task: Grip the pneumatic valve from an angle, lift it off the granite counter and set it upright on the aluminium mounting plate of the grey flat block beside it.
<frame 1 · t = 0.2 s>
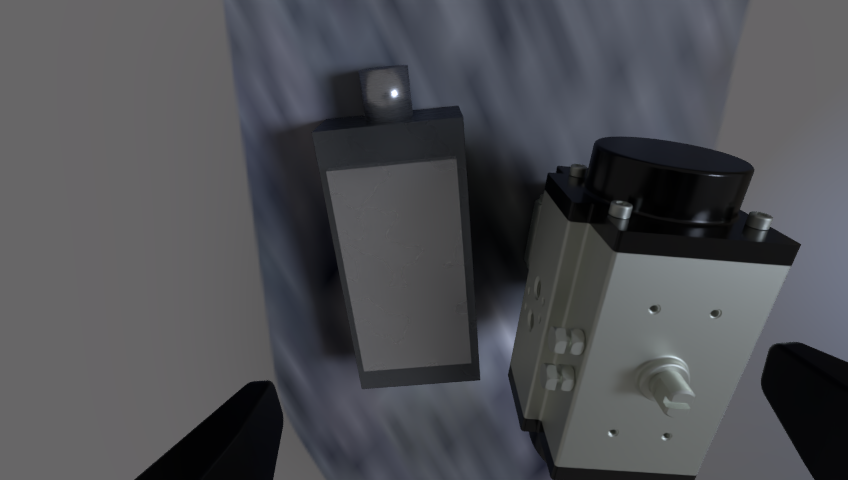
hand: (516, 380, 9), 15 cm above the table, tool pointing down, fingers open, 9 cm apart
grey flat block: (408, 243, 24), on the table
pneumatic valve: (552, 228, 24), on the table
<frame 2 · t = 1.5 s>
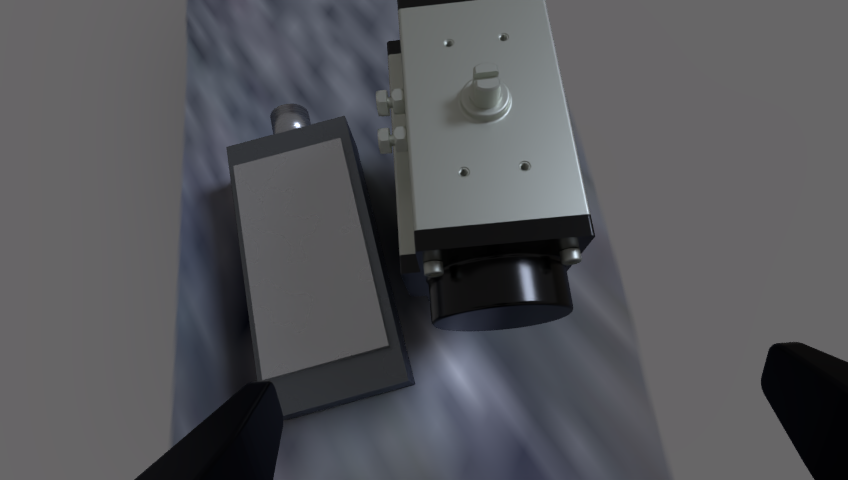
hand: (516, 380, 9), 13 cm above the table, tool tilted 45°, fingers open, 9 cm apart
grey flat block: (326, 270, 24), on the table
pneumatic valve: (464, 234, 24), on the table
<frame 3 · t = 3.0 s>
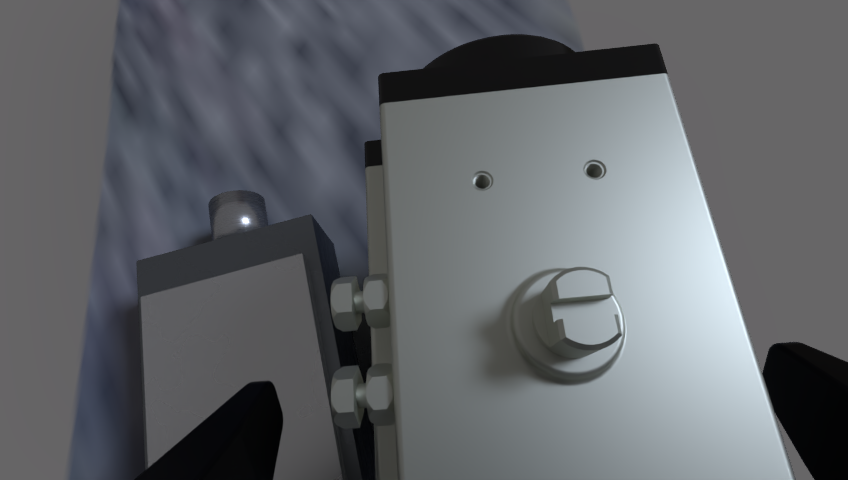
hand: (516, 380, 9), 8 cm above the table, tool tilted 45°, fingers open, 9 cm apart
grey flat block: (284, 436, 16), on the table
pneumatic valve: (486, 380, 17), on the table
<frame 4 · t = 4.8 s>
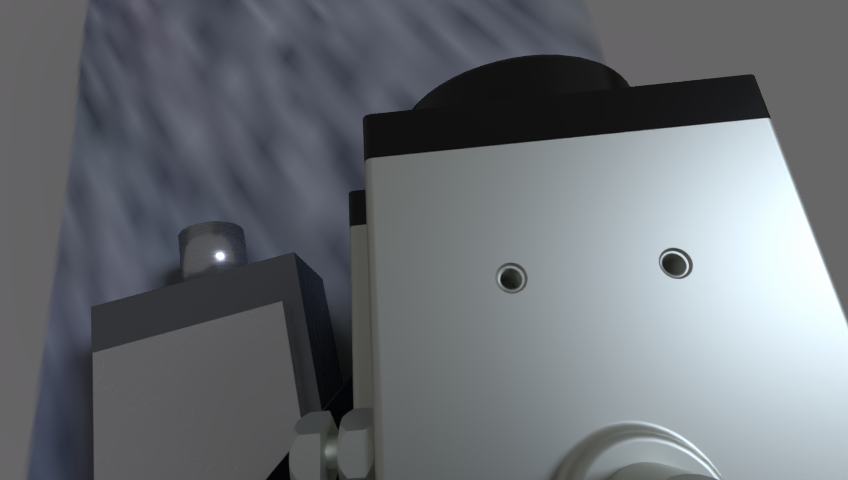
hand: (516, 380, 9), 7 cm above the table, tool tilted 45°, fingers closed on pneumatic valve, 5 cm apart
pneumatic valve: (496, 439, 14), on the table, touching gripper
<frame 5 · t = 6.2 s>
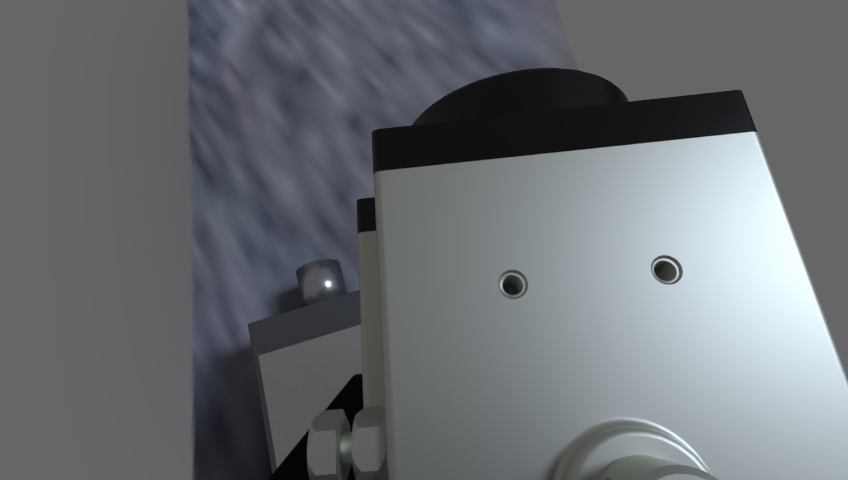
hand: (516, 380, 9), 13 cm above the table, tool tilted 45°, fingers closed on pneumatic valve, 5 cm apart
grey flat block: (369, 460, 20), on the table
pneumatic valve: (498, 436, 15), point 6 cm above the table, touching gripper
when the fingers open (11 cm above the table, at t = 7.8 s): pneumatic valve stays where it is, resting on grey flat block.
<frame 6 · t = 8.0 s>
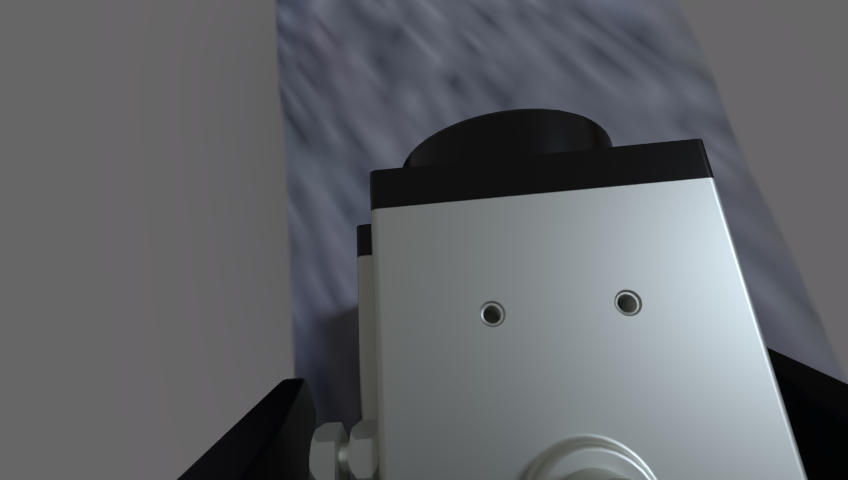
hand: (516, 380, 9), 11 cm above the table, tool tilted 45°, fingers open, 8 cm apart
pneumatic valve: (492, 441, 15), point 3 cm above the table, touching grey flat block
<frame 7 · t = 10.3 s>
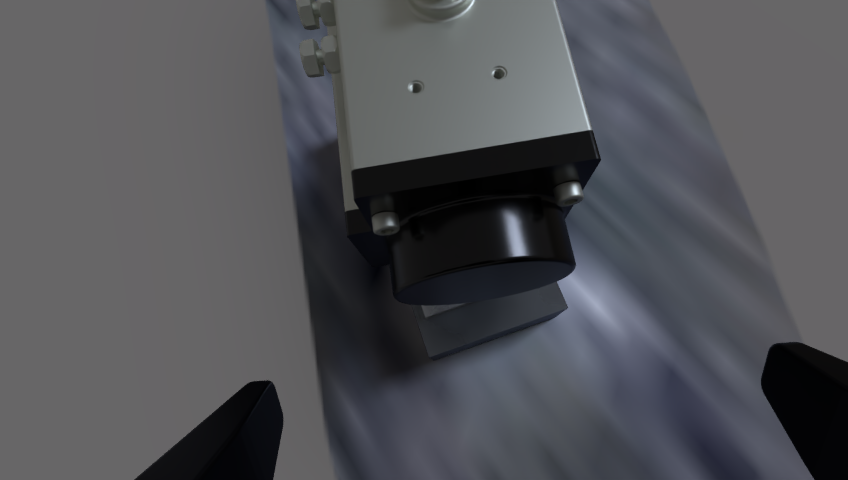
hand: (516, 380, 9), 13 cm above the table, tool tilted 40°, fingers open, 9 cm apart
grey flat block: (447, 216, 24), on the table
pneumatic valve: (443, 194, 21), point 3 cm above the table, touching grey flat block
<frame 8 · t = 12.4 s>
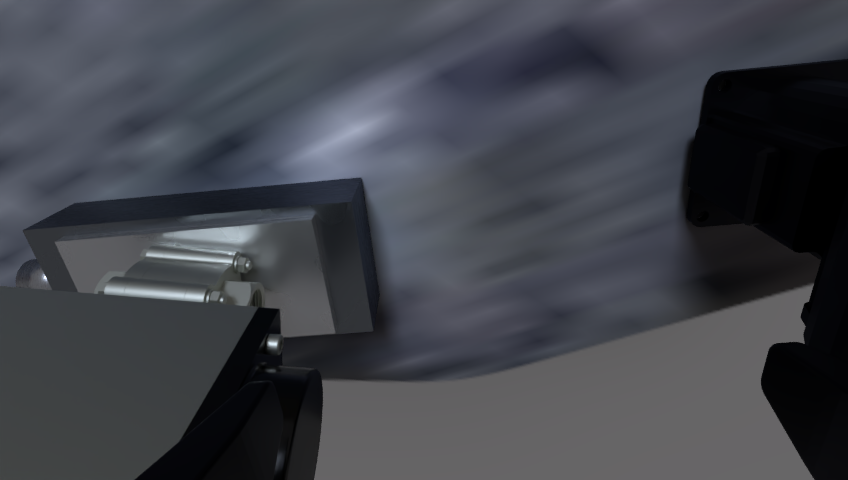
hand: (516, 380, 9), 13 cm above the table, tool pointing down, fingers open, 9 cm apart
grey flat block: (233, 251, 22), on the table
pneumatic valve: (207, 288, 19), point 3 cm above the table, touching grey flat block
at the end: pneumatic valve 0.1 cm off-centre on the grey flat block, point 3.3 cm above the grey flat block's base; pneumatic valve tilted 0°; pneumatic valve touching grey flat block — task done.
